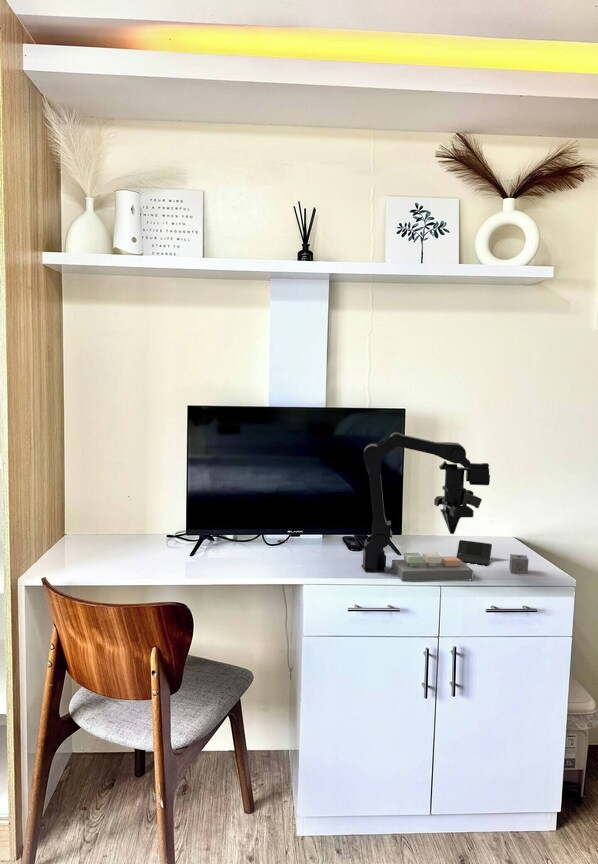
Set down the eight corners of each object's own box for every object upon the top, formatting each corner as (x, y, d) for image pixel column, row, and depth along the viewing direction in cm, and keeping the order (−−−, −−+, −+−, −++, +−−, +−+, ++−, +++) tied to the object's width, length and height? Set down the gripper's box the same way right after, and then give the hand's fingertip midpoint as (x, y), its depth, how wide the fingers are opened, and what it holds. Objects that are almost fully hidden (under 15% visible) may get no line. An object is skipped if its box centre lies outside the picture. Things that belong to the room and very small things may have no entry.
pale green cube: (407, 572, 212) (408, 557, 212) (403, 567, 217) (403, 553, 216) (422, 571, 213) (422, 557, 212) (417, 567, 217) (418, 552, 217)
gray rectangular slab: (402, 581, 208) (402, 571, 208) (391, 568, 220) (392, 559, 220) (472, 579, 211) (472, 570, 211) (458, 567, 223) (458, 558, 223)
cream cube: (426, 571, 213) (427, 556, 213) (421, 567, 218) (422, 552, 217) (440, 571, 214) (441, 556, 213) (436, 567, 218) (436, 552, 218)
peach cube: (445, 575, 214) (445, 560, 213) (440, 570, 219) (440, 556, 218) (459, 575, 215) (460, 560, 214) (454, 570, 219) (454, 556, 219)
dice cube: (525, 570, 223) (526, 555, 222) (527, 575, 218) (528, 559, 217) (509, 569, 224) (510, 554, 223) (511, 573, 219) (511, 558, 218)
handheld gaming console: (454, 559, 228) (459, 531, 233) (452, 566, 234) (457, 539, 239) (490, 567, 225) (494, 539, 230) (487, 575, 231) (491, 547, 236)
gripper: (491, 489, 205) (488, 541, 207) (468, 478, 224) (465, 526, 225) (455, 490, 204) (452, 541, 206) (434, 478, 222) (432, 526, 224)
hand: (452, 533), depth 215 cm, fingers closed
